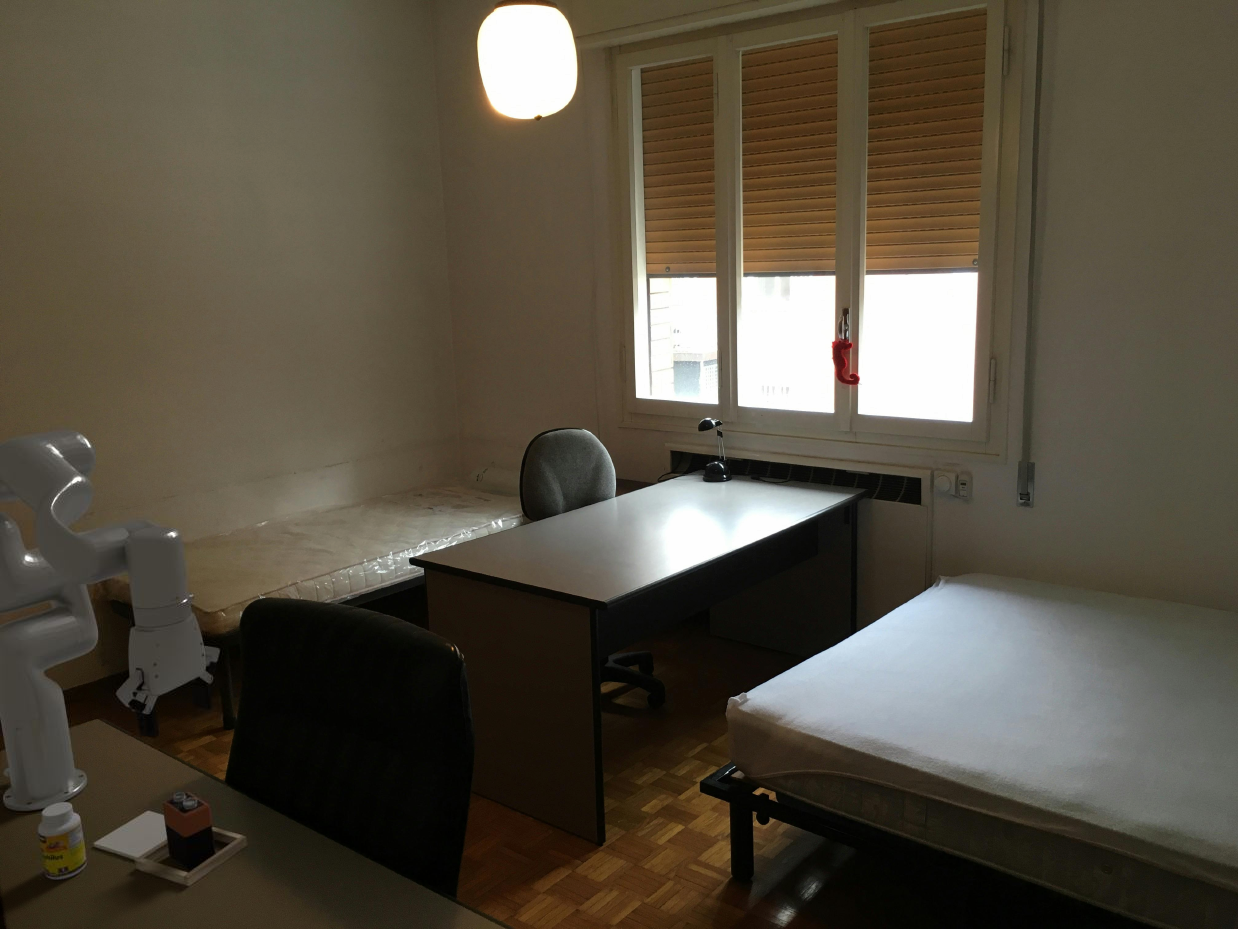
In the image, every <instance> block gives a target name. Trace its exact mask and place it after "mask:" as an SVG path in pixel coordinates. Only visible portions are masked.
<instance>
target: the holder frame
mask: <svg viewBox="0 0 1238 929" xmlns="http://www.w3.org/2000/svg"><path fill="white" fill-rule="evenodd" d="M212 829H213V837H214V841H219V842H221V843H222V842H223V843H226V844H228V845H227V846H225V847H224V848H223V849H221V850H219V851H218V852H215V853H216V854H215V855H214V856H212V857H211V858H209V859H208V860H206V861H205V862H203V863H202V864H201V865H199V866H198V867H196V868H194V869H192V870H189V872H187V871H183V870H181V869H178V868H174V867H172V866H169V865H166V864H162V863H160V862H156V860H158V859H159V858H160V857H162V856H164V855H165V854H167V853H169V849H168V842H167V840H165V841H164V842H162V843H161V844H159V845H158V846H156V847H154V848H153V849H151V850H150V851H148V852H147V853H145V854H143V855H142V856H140V857H139V858H137V859H136V860H134V864H135V869H136V870H138V869H139V871H141V872H144V873H147V874H150V873H151V874H150V875H154V876H157V877H160V878H162V879H166V880H168V881H171V882H175V883H177V884H180V885H184V886H187V887H191V886H192V885H193V884H195V883H196V882H197V881H199V880H200V879H202V878H203V877H204V876H206V875H207V874H209V873H210V872H211V871H213V870H215V869H216V868H217V867H218V866H219V867H220V866H221V864H224V862H226V861H227V860H228V859H230V858H231V857H233V856H234V855H235V854H238V852H240V851H241V850H243V849H244V848H246V847H247V846H248V839H247V836H245V835H242V834H239V833H236V832H233V831H228V830H224V829H221V828H219V827H214V826H212Z"/></svg>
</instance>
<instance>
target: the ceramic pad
mask: <svg viewBox="0 0 1238 929" xmlns="http://www.w3.org/2000/svg"><path fill="white" fill-rule="evenodd" d="M165 840H167V835H166V827H165V820H164V814H161V813H157V812H154V811H151V810H147V811H145V812H144V813H142V814H140V815H138V816H136V817H134V818H133V819H131V820H130V821H128V822H127V823H125V824H123V825H121V826H119V827H118V828H116V829H115V830H113V831H111V832H110V833H108V834H107V835H104V836H103V837H101V838H100V839H98V840H96V841H95V842H93V847H94V848H98V849H101V850H103V851H106V852H110V853H112V854H115V853H116V855H119V856H122V857H125V858H127V859H131V860H133V861H135V860H136V859H137V858H139V857H140V856H142V855H143V854H145V853H147V852H148V851H150V850H151V849H153V848H154V847H156V846H158V845H159V844H161V843H162V842H164V841H165Z"/></svg>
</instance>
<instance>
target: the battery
mask: <svg viewBox="0 0 1238 929" xmlns="http://www.w3.org/2000/svg"><path fill="white" fill-rule="evenodd" d="M210 807H211V806H210V805H209V803H207V802H206V801H204V800H202V799H201V798H199V797H197V795H194V794H193V793H191V792H190V791H186V792H183V791H182V792H177V793H174V795H173V797H172V798H170V799H168V800H165V801H163V802H162V812H163V815H164V820H165V827H166V835H167V842H168V849H169V851H168V855H169V856H170V857H172V859H174V860H176V861H177V862H178V863H180V864H181V865H182V866H184V867H185V868H186V869H187V870H189V871H192V870H193V869H195V868H196V867H198V866H199V865H201V864H202V863H203V862H205V861H206V860H208V859H209V858H211V857H212V856H214V855H215V854H216V853H217V852H216V846H215V839H214V837H213V829H212V827H213V823H212V814H211V808H210Z"/></svg>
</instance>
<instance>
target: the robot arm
mask: <svg viewBox="0 0 1238 929" xmlns="http://www.w3.org/2000/svg"><path fill="white" fill-rule="evenodd" d="M96 456H97V455H96V450H95V448H94V446H93V445H92V443H91V442H90V440H89V439H88V438H87V437H86V436H85V435H84V434H82V433H81V432H78V431H76V430H72V429H57V430H53V431H47V432H46V431H45V432H38V433H34V434H33V433H32V434H25V435H20V436H16V437H12V438H9V439H7V440H5V441H3V442H1V443H0V504H5V503H9V502H15V501H19V500H21V501H22V502H23V503H24V504H25V505H26V506H27V507H29V508H30V510H32V511H33V512H34V513H36V514H35V517H34V521H33V535H34V539H35V540H34V541H35V542H36V546H37V547H36V548H31V549H27V548H26V547H25V545H24V542H23V538H22V535H21V531H20V528H19V526H18V524H17V522H15V520H13V518H11V517H10V516H9V515H8V514H7V513H5V512H4V511H2V510H1V509H0V615H5V614H10V613H14V612H18V611H20V610H24V609H28V608H31V607H35V606H38V605H41V604H44V603H48V602H49V603H50V605H51V608H50V609H47V610H43V611H40V612H37V613H32V614H29V615H26V616H23V617H20V618H17V619H14V620H13V619H12V620H11V621H7V622H5V623H3V624H0V724H1V729H2V734H3V735H2V736H3V742H4V747H5V751H6V752H5V753H6V758H7V764H8V768H5V769H4V770H3V776H5V777H8V778H9V779H10V780H9V781H10V787H9V788H8V789H7V790H6V791H4V794H3V797H2V799H3V804H4V806H5V807H6V808H7V809H8V810H11V811H19V812H29V811H36V810H42V809H43V810H44V809H45V808H47V807H48V806H51V805H53V804H56V803H61V802H67V801H68V800H70V799H72V798H73V797H75V796H76V795H78V794H79V793H80V792H82V790H83V789H85V787H86V785H87V783H88V778H87V777H88V776H87V774H86V773H85V772H84V771H83V770H81V769H78V768H76V767H75V762H74V761H75V760H74V755H73V750H72V742H71V736H70V735H71V734H70V728H69V722H68V717H67V711H66V704H65V698H64V694H63V691H62V688H61V687H60V686H59V684H58V683H57V682H55V681H54V680H52V679H51V678H49V677H48V676H46V674H45V673H44V672H45V671H46V670H48V669H50V668H53V667H54V666H57V665H59V664H62V663H65V662H69V661H70V660H74V659H76V658H79V657H82V656H84V655H86V654H88V653H90V652H91V651H92V650H93V649H94V648H95V647H96V645H97V643H98V640H99V631H98V630H99V629H98V624H97V620H96V619H97V618H96V616H95V613H94V609H93V605H92V602H91V598H90V594H89V591H88V587H87V585H92V584H96V583H100V582H102V581H105V580H109V579H112V578H115V577H116V578H117V577H118V576H122V575H125V574H127V576H128V582H129V590H130V597H131V603H132V611H133V617H134V625H135V626H133V627H131V628H130V631H129V638H128V670H129V671H128V672H129V677H128V678H127V679H126V681H125V682H123V684H122V685H121V686H120V687H119V688H118V689H117V691H116V693H115V694H116V696H117V698H118V699H119V700H120V702H121V703H122V704H123V706H124V707H125V708H127V709H130V710H131V711H132V712H136V714H135V715H136V718H137V726H138V732H139V735H141V736H142V737H147V738H151V739H156V738H158V737H159V735H160V731H159V724H158V723H159V722H158V717H157V712H156V711H155V710H153V708H154V705H155V704H156V701H157V699H158V698H159V696H162V695H164V694H166V693H169V692H170V691H173V690H175V689H177V688H178V687H179V688H180V687H181V686H183V685H185V684H187V683H189V682H191V692H192V693H191V694H192V702H193V706H194V707H195V708H199V709H202V710H207V711H208V710H211V709H212V708H213V702H212V701H213V700H212V692H211V685H210V684H211V683H212V682H213V681H214V673H215V671H216V669H217V667H218V663H217V662H218V659H219V655H220V652H221V650H220V648H218V647H215V646H208V645H207V646H206V645H204V641H203V636H202V633H201V632H202V631H201V629H200V625H199V622H198V620H197V617H196V615H195V613H194V612H192V607H191V603H194V601H195V596H194V594H192V593H190V591H189V583H188V575H187V574H188V573H187V567H186V566H187V565H186V560H185V551H184V544H183V543H184V542H183V537H182V535H181V532H180V531H179V530H178V529H176V528H174V527H170V526H160V525H159V524H157V523H155V522H154V521H152V520H149V519H146V518H135V519H134V518H133V519H129V520H125V521H122V522H121V521H120V522H118V523H113V524H108V525H104V526H100V527H96V528H92V529H88V530H85V531H81V532H74V531H72V530H71V529H70V528H68V527H70V526H71V525H72V524H74V523H76V521H78V519H80V518H81V517H82V516H83V515H85V513H86V512H87V511H88V509H89V508H90V506H91V504H92V503H93V500H94V495H95V491H94V490H95V489H94V487H93V484H92V482H91V481H90V479H88V477H89V476H90V475H91V474H92V473H93V471H94V470H95V468H96V463H97V457H96ZM193 680H194V681H193ZM133 693H137V694H136V696H134V694H133ZM145 699H146V700H145ZM144 701H145V702H144Z"/></svg>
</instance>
